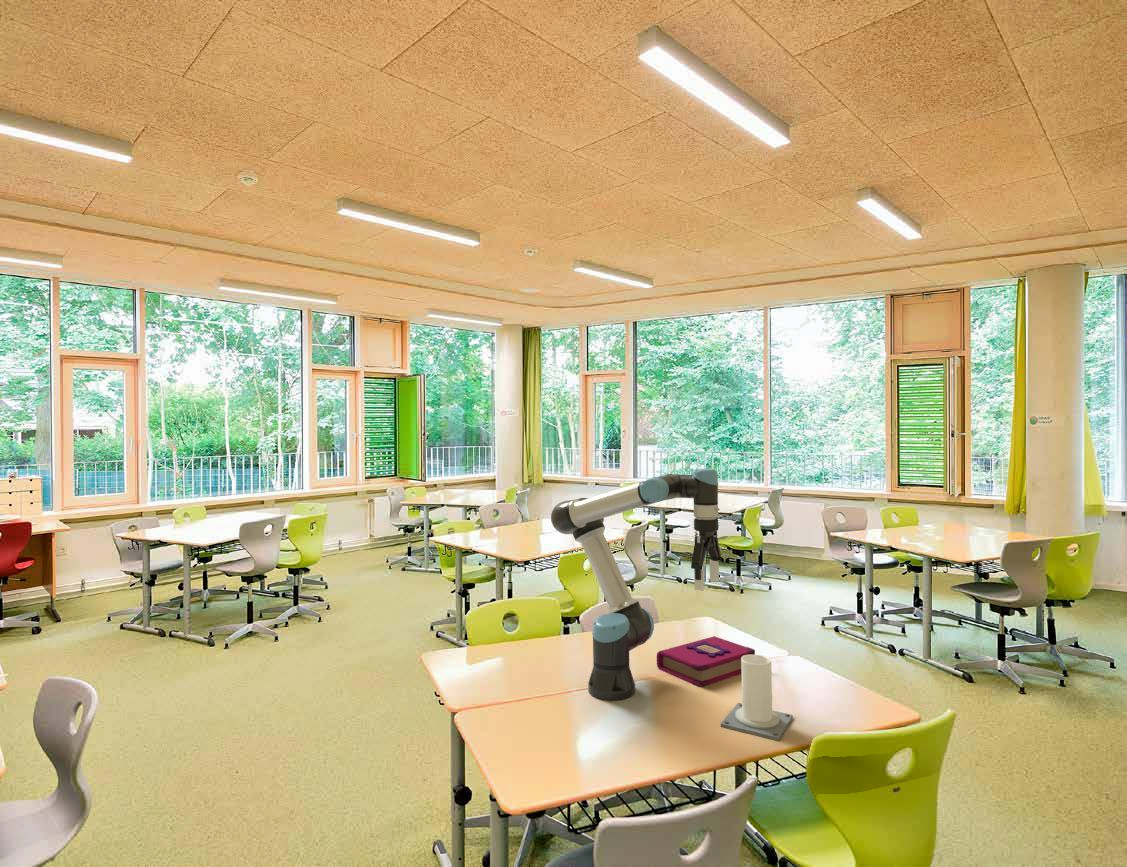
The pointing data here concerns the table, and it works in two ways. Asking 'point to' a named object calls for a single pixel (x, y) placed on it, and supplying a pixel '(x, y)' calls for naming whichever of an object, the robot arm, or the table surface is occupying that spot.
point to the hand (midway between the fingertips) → (706, 585)
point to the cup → (756, 688)
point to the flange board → (758, 723)
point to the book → (703, 660)
